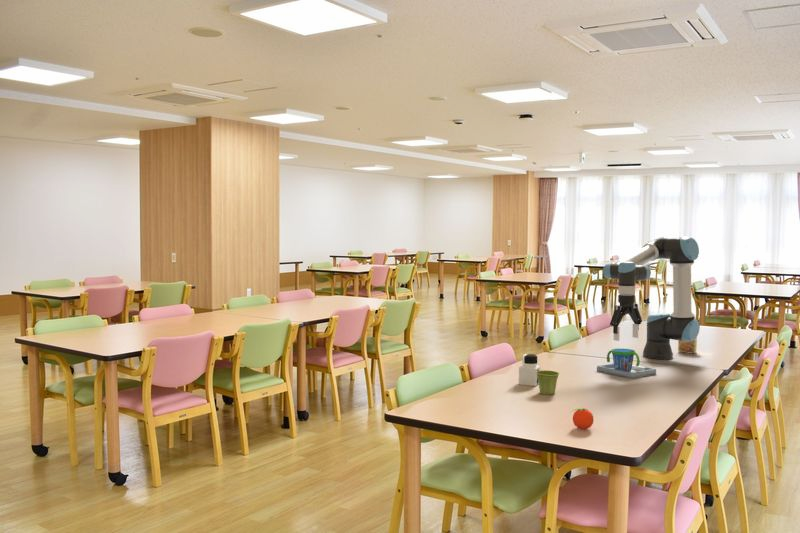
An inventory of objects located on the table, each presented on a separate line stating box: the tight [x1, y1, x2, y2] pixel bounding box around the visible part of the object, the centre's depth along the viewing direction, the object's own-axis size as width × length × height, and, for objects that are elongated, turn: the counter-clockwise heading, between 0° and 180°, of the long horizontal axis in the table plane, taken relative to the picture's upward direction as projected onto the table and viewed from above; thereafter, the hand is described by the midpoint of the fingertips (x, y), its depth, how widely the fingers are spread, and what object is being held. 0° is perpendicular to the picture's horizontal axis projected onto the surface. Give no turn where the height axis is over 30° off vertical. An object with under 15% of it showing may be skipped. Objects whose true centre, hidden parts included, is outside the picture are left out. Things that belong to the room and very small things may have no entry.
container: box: [518, 353, 541, 387], centre depth 301 cm, size 8×8×13 cm
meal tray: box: [596, 362, 657, 380], centre depth 326 cm, size 18×20×3 cm
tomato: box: [572, 408, 594, 430], centre depth 233 cm, size 8×7×7 cm
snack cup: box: [606, 348, 641, 372], centre depth 323 cm, size 16×11×10 cm
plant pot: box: [536, 370, 560, 396], centre depth 284 cm, size 9×9×9 cm
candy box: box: [677, 336, 698, 354], centre depth 381 cm, size 9×4×15 cm, turn 51°
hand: (626, 339), depth 325 cm, fingers open, 13 cm apart
